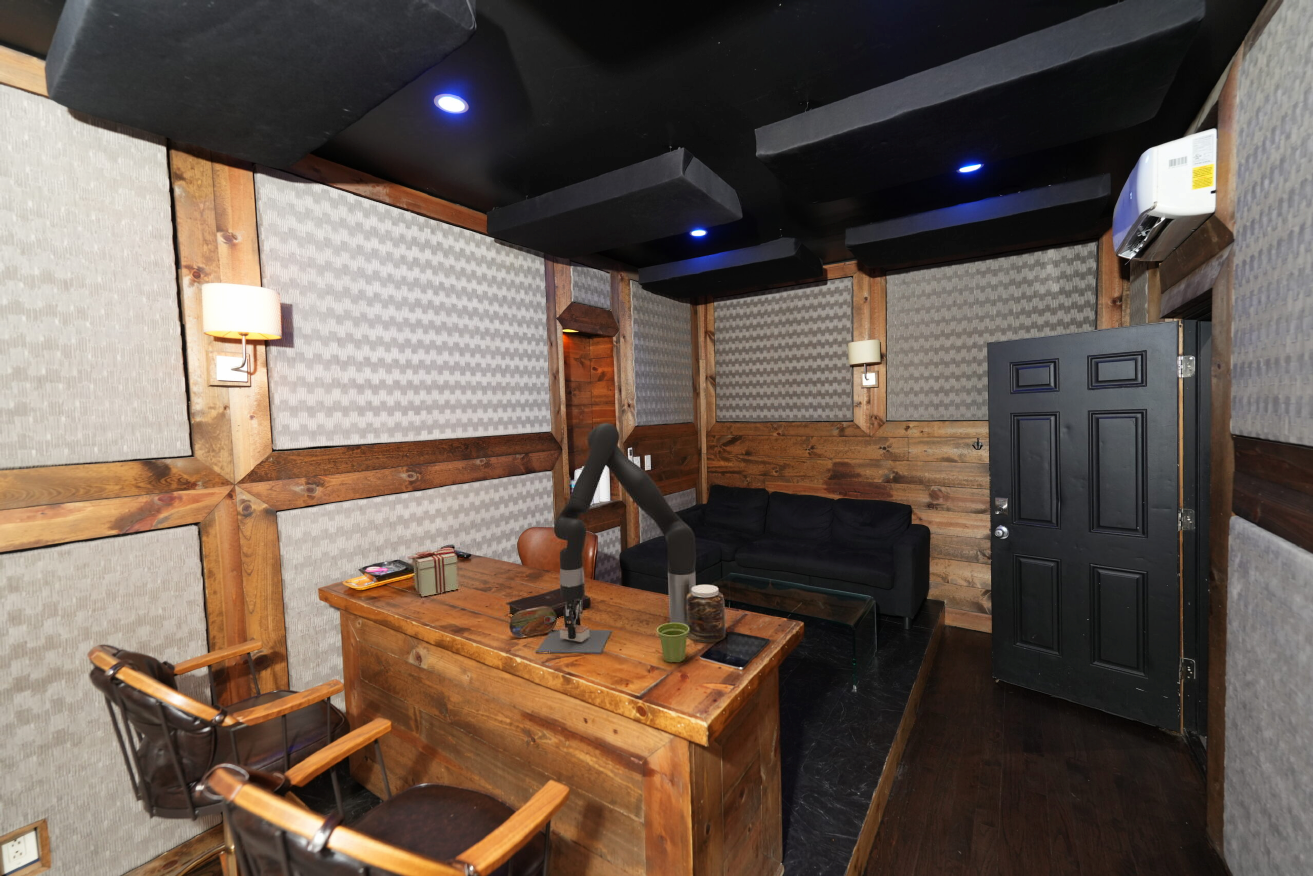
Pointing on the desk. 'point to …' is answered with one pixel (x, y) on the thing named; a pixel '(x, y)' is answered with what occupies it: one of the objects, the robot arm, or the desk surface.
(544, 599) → the diary
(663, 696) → the desk surface
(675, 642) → the plant pot
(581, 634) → the block
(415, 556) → the gift box
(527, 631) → the tin
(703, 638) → the jar
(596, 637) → the mat
